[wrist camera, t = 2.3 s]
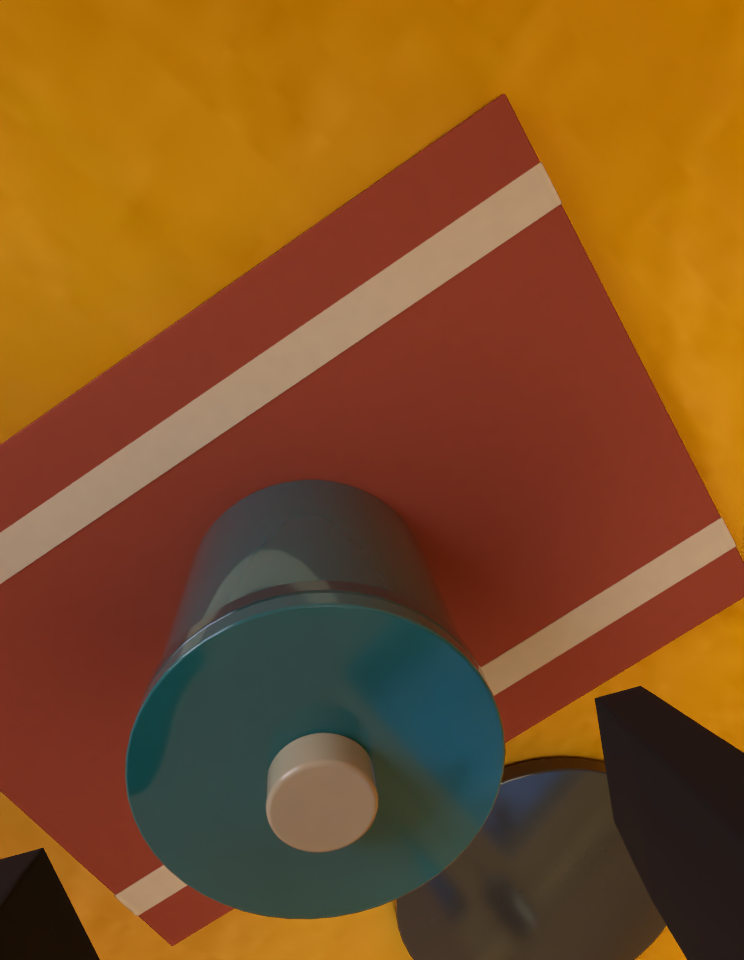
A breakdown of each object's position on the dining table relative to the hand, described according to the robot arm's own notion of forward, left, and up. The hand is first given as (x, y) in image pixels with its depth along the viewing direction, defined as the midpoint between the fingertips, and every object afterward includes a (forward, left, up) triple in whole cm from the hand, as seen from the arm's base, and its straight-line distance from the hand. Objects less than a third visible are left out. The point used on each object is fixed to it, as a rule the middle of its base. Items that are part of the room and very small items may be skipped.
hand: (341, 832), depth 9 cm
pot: (0, 0, -8) cm, 8 cm away
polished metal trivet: (0, -12, -8) cm, 14 cm away
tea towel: (0, 0, -8) cm, 8 cm away
